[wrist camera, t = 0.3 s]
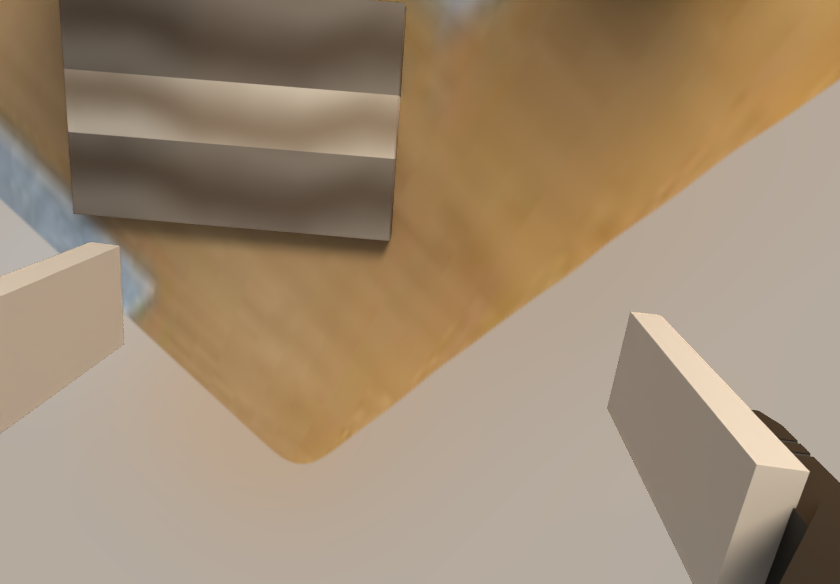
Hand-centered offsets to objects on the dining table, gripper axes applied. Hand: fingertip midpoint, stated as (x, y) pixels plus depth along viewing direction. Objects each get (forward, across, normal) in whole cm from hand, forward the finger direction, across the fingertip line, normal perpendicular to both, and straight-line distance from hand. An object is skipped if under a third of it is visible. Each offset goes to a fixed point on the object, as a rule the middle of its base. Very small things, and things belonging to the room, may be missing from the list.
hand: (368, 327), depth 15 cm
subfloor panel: (+27, -13, +3) cm, 30 cm away
